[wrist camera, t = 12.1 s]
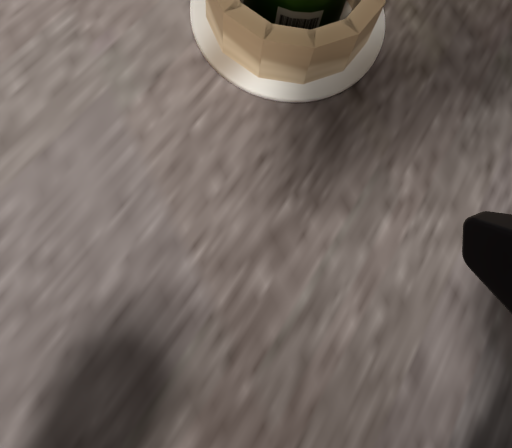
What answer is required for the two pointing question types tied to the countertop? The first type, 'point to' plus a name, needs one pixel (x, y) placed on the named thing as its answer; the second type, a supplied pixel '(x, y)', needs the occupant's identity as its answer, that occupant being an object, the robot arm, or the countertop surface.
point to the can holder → (288, 49)
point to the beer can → (298, 12)
